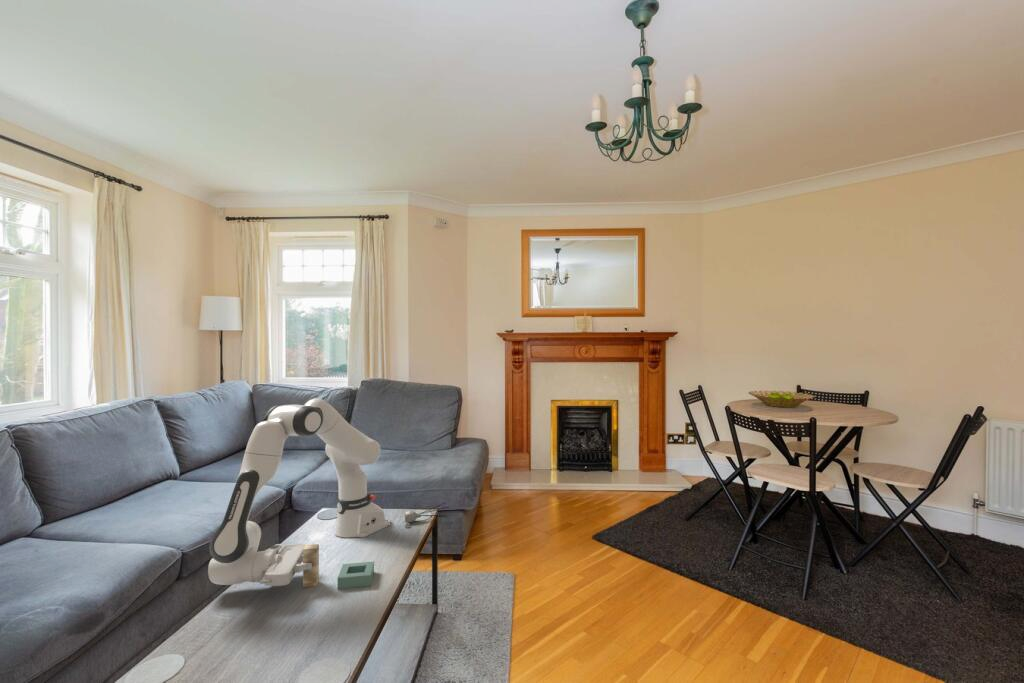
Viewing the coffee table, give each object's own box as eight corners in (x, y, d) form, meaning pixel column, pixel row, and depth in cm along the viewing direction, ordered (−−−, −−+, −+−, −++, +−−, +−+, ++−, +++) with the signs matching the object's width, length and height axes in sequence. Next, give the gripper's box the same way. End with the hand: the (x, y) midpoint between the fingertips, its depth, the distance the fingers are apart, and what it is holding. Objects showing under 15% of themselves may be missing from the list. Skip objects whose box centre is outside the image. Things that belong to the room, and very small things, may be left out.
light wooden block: (303, 587, 141) (303, 549, 141) (305, 582, 144) (305, 545, 144) (316, 585, 142) (316, 548, 142) (318, 580, 145) (318, 544, 145)
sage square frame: (337, 589, 140) (337, 578, 140) (342, 574, 149) (342, 564, 149) (370, 585, 142) (370, 575, 142) (373, 571, 151) (373, 561, 151)
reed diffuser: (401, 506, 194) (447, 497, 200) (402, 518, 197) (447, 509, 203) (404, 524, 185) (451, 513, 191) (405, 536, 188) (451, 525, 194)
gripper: (254, 572, 130) (305, 568, 133) (278, 541, 150) (321, 538, 153) (254, 594, 130) (305, 589, 133) (278, 560, 150) (321, 556, 153)
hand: (314, 561), depth 143 cm, fingers closed on light wooden block, 3 cm apart
